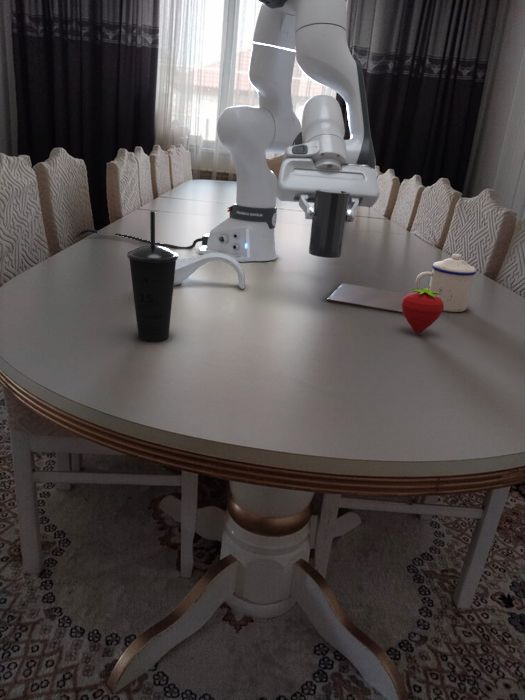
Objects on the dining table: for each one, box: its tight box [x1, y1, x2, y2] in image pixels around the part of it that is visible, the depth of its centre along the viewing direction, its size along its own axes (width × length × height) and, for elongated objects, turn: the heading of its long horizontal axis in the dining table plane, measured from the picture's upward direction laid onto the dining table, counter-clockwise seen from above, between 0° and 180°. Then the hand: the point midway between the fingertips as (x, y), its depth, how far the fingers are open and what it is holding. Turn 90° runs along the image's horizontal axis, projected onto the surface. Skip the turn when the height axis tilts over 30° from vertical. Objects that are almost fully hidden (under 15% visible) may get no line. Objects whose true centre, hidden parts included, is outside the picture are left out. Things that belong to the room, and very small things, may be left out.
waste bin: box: [308, 189, 350, 259], centre depth 100 cm, size 6×6×12 cm
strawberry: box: [401, 280, 444, 334], centre depth 95 cm, size 6×8×10 cm
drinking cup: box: [126, 211, 179, 343], centre depth 81 cm, size 8×8×20 cm
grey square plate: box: [326, 283, 409, 314], centre depth 117 cm, size 16×16×1 cm
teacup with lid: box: [415, 253, 477, 313], centre depth 113 cm, size 12×9×12 cm
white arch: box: [174, 253, 246, 290], centre depth 116 cm, size 24×12×7 cm, turn 91°
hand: (329, 218), depth 99 cm, fingers closed on waste bin, 6 cm apart
